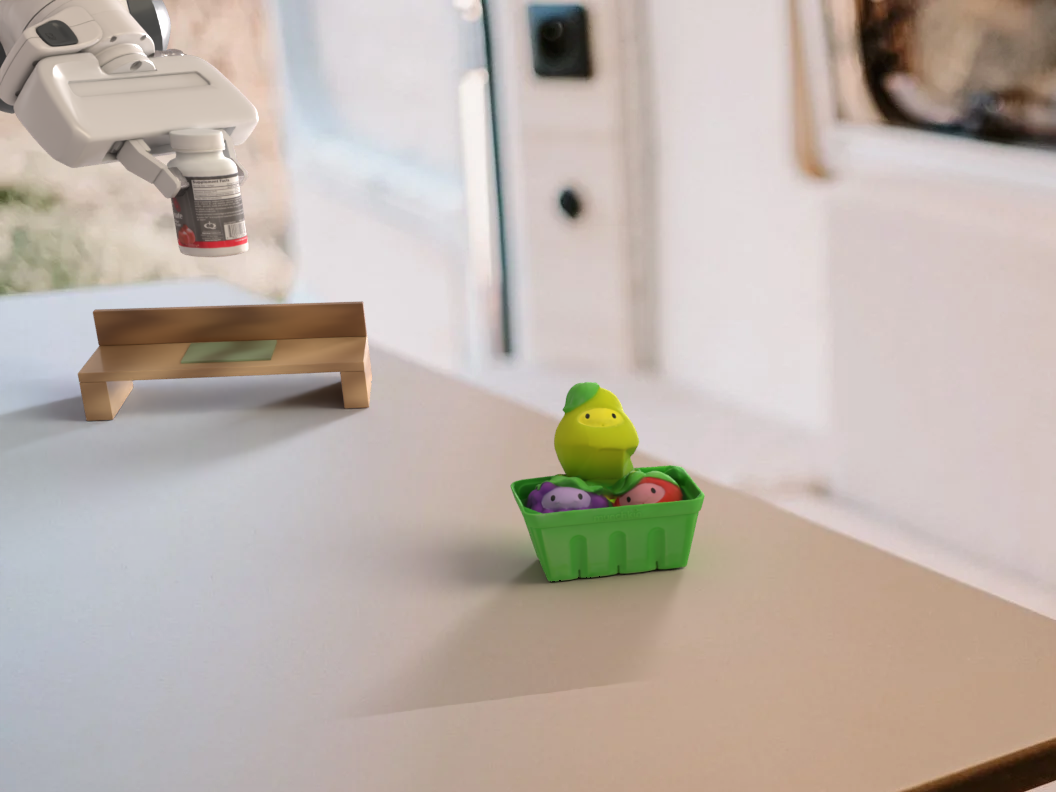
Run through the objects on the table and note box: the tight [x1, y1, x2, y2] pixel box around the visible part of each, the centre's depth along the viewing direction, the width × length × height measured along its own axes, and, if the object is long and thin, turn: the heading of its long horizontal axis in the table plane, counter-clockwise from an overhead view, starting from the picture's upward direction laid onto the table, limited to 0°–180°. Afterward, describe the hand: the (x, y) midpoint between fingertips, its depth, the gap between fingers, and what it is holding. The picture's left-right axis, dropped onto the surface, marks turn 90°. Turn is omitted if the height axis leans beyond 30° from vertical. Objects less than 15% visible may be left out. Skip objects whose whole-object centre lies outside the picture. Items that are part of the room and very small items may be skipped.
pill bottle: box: [166, 129, 249, 258], centre depth 133 cm, size 5×5×10 cm
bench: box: [77, 300, 373, 422], centre depth 139 cm, size 22×11×7 cm, turn 107°
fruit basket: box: [510, 381, 706, 583], centre depth 104 cm, size 11×9×11 cm
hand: (210, 187), depth 133 cm, fingers closed on pill bottle, 5 cm apart
